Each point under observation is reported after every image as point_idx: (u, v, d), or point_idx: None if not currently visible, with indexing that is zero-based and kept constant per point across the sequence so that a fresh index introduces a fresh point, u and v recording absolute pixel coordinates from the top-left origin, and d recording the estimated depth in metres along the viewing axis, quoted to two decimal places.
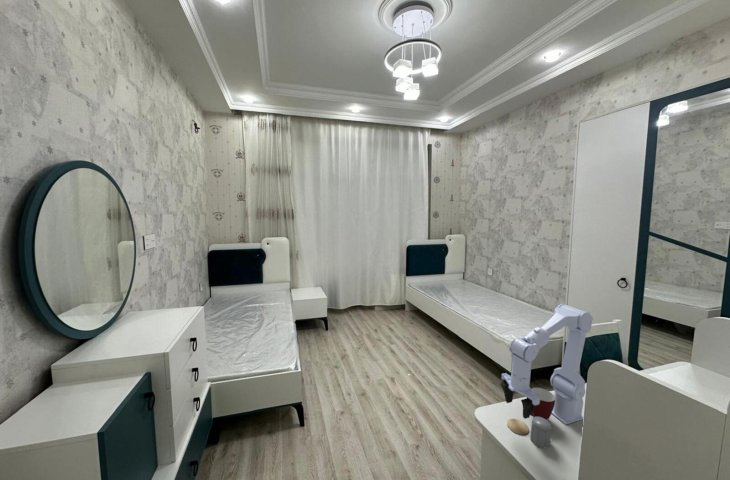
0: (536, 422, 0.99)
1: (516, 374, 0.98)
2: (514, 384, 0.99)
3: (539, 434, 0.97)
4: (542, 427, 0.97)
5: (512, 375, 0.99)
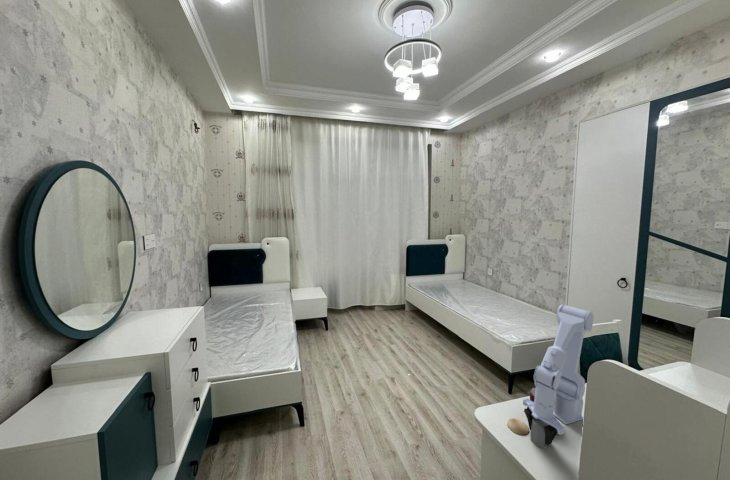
0: (536, 422, 0.99)
1: (542, 403, 0.96)
2: (538, 411, 0.97)
3: (539, 434, 0.97)
4: (542, 427, 0.97)
5: (536, 402, 0.98)
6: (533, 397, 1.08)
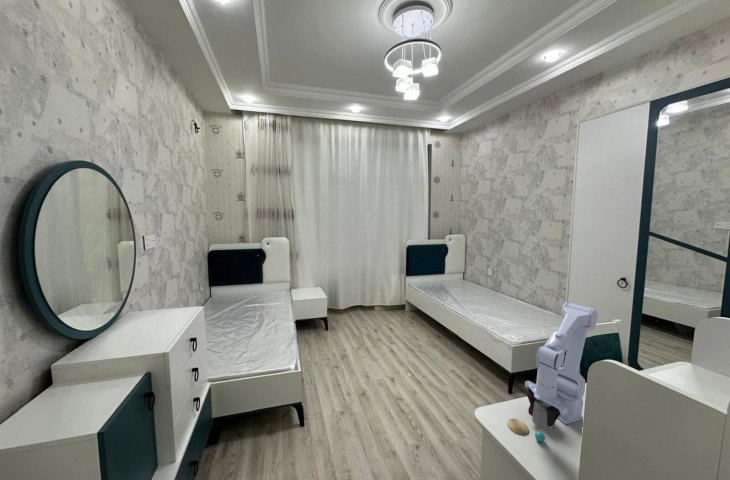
0: (538, 404, 0.98)
1: (545, 383, 0.95)
2: (540, 392, 0.96)
3: (541, 416, 0.96)
4: (544, 408, 0.96)
5: (538, 383, 0.97)
6: None
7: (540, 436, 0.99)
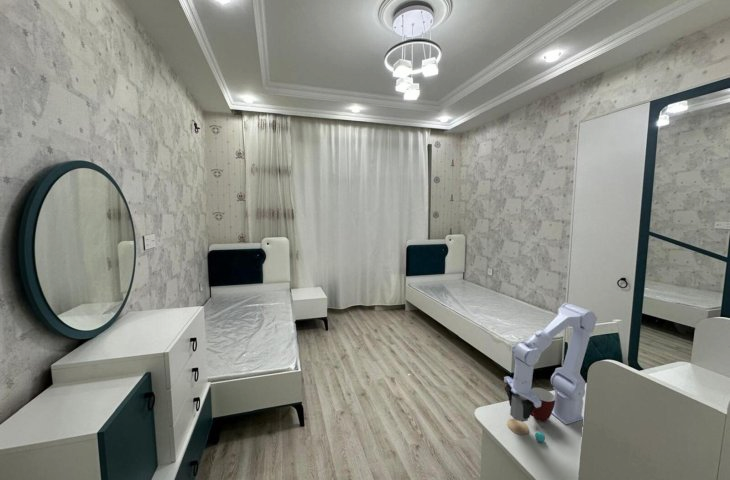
0: (516, 398, 1.04)
1: (518, 377, 1.02)
2: (516, 387, 1.02)
3: (518, 409, 1.02)
4: (520, 402, 1.02)
5: (515, 378, 1.03)
6: None
7: (540, 436, 0.99)
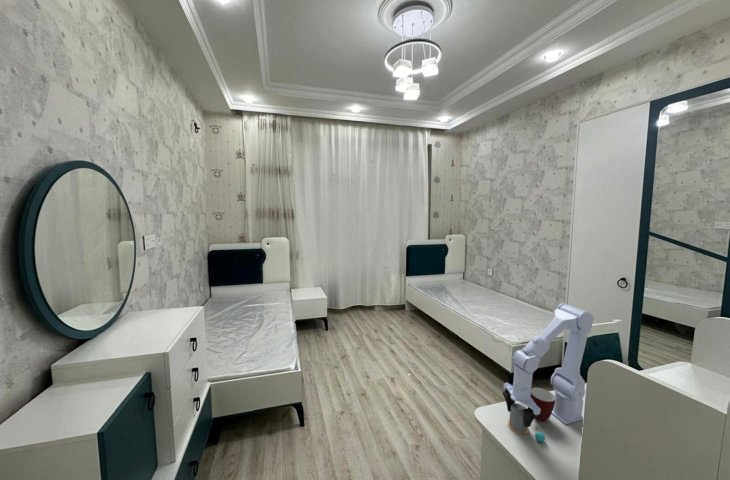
0: (514, 408, 1.05)
1: (517, 384, 1.02)
2: (516, 394, 1.03)
3: (517, 419, 1.03)
4: (519, 412, 1.03)
5: (514, 385, 1.03)
6: (533, 397, 1.08)
7: (540, 436, 0.99)
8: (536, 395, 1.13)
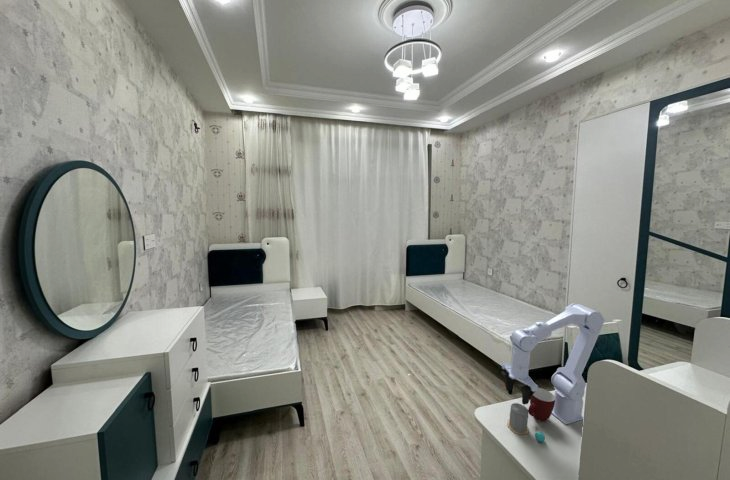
0: (514, 408, 1.05)
1: (514, 362, 1.05)
2: (514, 372, 1.06)
3: (517, 419, 1.03)
4: (519, 412, 1.03)
5: (512, 364, 1.06)
6: (533, 397, 1.08)
7: (540, 436, 0.99)
8: (536, 395, 1.13)
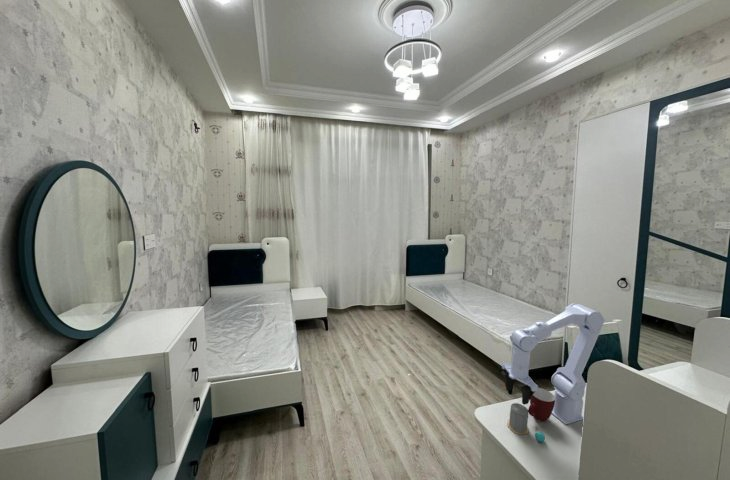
0: (514, 408, 1.05)
1: (514, 362, 1.05)
2: (514, 372, 1.06)
3: (517, 419, 1.03)
4: (519, 412, 1.03)
5: (512, 364, 1.06)
6: (533, 397, 1.08)
7: (540, 436, 0.99)
8: (536, 395, 1.13)
